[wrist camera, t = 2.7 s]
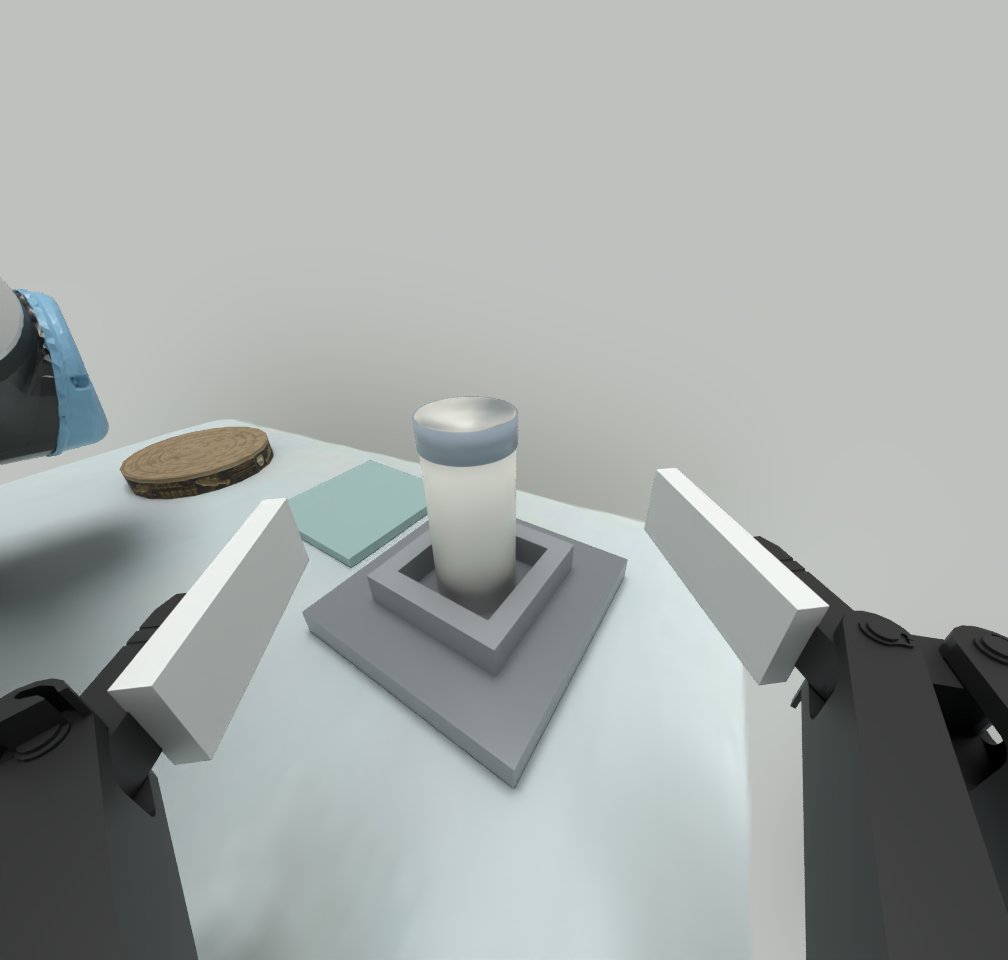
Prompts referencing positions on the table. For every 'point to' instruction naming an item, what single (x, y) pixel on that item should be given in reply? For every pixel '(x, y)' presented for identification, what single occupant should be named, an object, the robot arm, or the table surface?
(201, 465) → the wood slice coaster
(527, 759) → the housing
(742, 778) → the table surface
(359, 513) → the mat
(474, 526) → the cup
